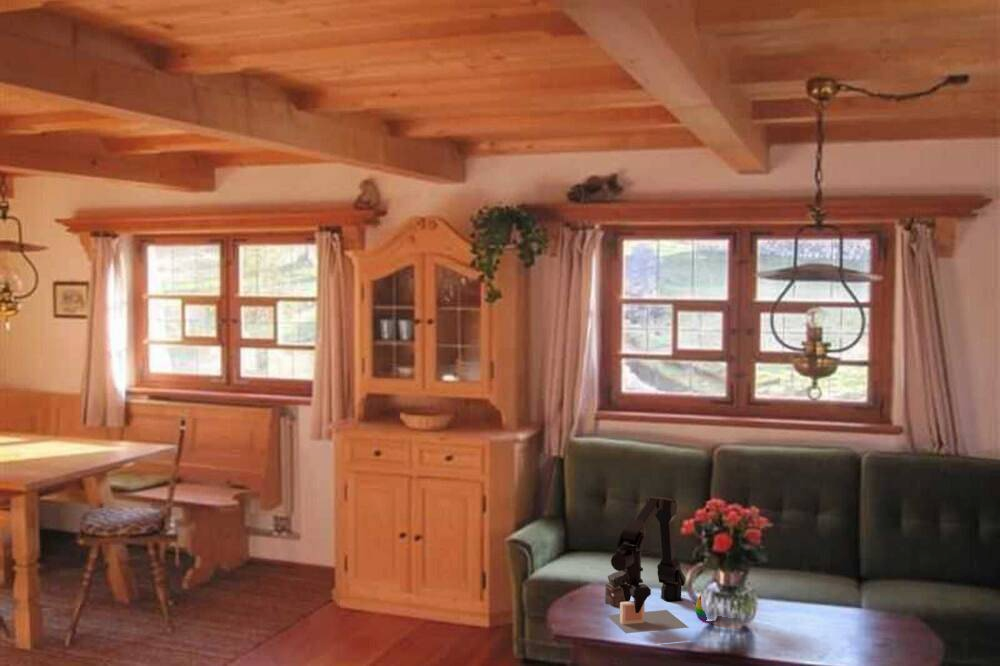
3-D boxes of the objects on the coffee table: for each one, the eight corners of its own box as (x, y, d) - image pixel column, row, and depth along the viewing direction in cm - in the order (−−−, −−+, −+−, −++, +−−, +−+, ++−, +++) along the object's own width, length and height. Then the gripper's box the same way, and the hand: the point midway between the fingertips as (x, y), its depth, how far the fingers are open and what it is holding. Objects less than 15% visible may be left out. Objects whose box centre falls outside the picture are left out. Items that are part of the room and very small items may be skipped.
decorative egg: (697, 614, 342) (697, 587, 342) (720, 617, 340) (721, 589, 339) (694, 622, 335) (694, 594, 334) (717, 625, 332) (718, 596, 331)
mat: (666, 610, 346) (666, 609, 346) (688, 628, 329) (688, 627, 329) (606, 616, 341) (606, 615, 341) (625, 634, 323) (625, 633, 323)
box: (604, 603, 355) (605, 583, 354) (618, 601, 357) (619, 581, 357) (613, 608, 349) (613, 588, 349) (627, 606, 352) (628, 586, 351)
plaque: (641, 620, 336) (641, 600, 335) (644, 622, 333) (644, 602, 333) (619, 622, 334) (620, 602, 333) (622, 624, 331) (622, 604, 331)
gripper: (600, 558, 339) (600, 601, 340) (620, 573, 321) (620, 619, 322) (630, 555, 342) (630, 599, 343) (651, 571, 324) (651, 616, 325)
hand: (632, 608), depth 333 cm, fingers open, 9 cm apart
